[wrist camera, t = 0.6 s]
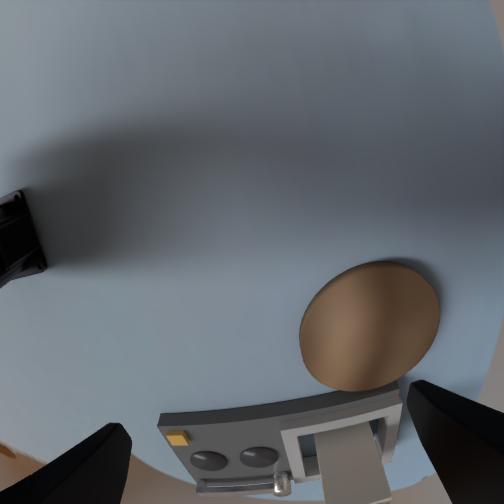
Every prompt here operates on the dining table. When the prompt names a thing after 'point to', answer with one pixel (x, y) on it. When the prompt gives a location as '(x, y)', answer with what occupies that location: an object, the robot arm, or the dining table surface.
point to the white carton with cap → (351, 466)
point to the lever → (249, 488)
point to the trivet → (369, 326)
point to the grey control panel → (275, 435)
